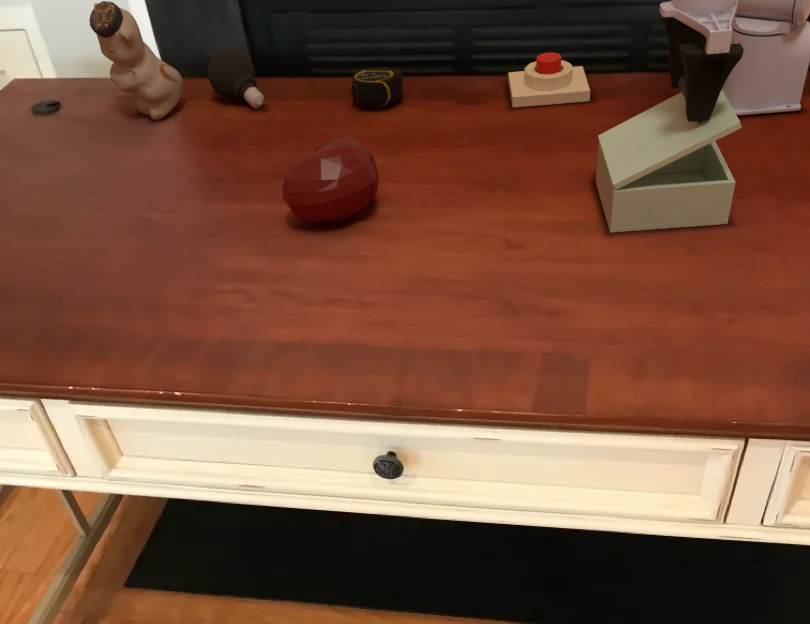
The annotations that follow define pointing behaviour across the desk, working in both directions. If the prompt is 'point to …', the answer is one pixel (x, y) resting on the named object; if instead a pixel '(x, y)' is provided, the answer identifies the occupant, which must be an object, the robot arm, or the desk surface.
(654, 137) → the freezer lid
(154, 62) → the figurine
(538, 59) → the power button
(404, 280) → the desk surface
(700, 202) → the box
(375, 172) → the heart
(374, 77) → the tape measure
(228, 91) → the dark brown bulb-shaped piece
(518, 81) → the control block
